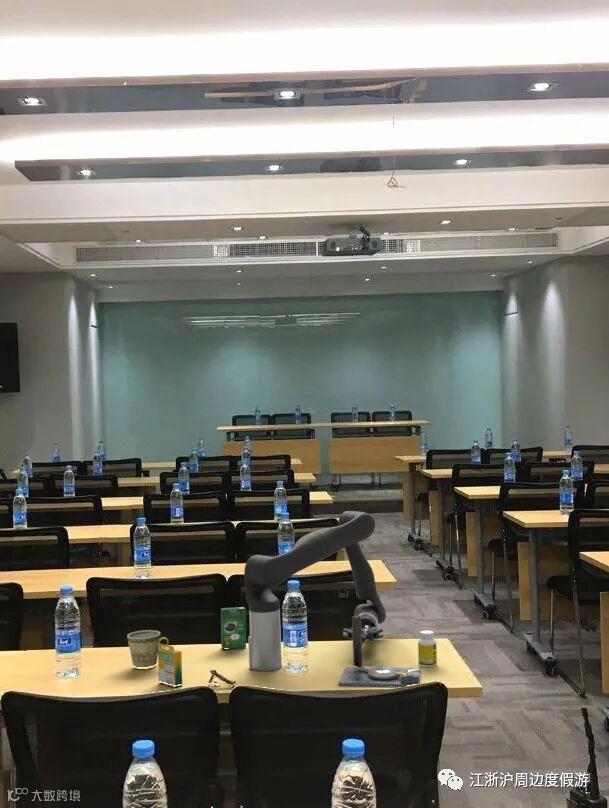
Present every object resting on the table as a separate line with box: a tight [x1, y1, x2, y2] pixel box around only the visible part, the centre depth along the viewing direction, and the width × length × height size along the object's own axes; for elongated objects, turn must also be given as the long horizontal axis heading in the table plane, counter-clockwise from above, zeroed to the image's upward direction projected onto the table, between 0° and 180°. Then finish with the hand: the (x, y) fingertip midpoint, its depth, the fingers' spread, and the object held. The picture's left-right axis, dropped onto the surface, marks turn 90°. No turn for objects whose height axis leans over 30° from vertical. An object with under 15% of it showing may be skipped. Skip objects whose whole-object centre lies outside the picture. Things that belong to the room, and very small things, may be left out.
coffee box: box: [220, 606, 247, 649], centre depth 278 cm, size 8×3×13 cm, turn 103°
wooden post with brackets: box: [207, 669, 237, 685], centre depth 239 cm, size 2×8×4 cm, turn 69°
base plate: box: [338, 666, 422, 688], centre depth 242 cm, size 22×15×4 cm
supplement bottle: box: [417, 629, 438, 668], centre depth 252 cm, size 5×5×10 cm
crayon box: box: [157, 643, 183, 685], centre depth 242 cm, size 7×3×12 cm, turn 48°
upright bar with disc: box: [351, 615, 407, 679], centre depth 242 cm, size 18×9×15 cm, turn 51°
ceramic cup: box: [126, 629, 170, 667], centre depth 260 cm, size 13×10×10 cm
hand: (360, 640), depth 256 cm, fingers closed
